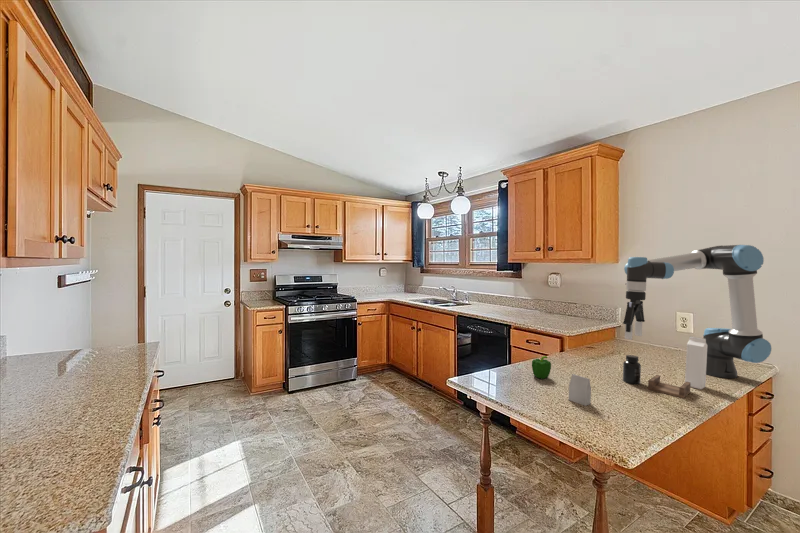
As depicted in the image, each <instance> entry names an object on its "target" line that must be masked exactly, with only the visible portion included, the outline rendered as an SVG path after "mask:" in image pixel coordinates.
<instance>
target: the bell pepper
mask: <svg viewBox="0 0 800 533" xmlns="http://www.w3.org/2000/svg"><path fill="white" fill-rule="evenodd" d="M531 368H532V369H531V370H532V374H533V376H535V377H536V378H537V379H547V378H549V376H550V373H551V369H552V362H551V361H549V360H548V356H547V355H543V356H541V358H536V359H532V361H531Z"/></svg>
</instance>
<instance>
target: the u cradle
mask: <svg viewBox="0 0 800 533" xmlns="http://www.w3.org/2000/svg"><path fill="white" fill-rule="evenodd" d="M690 385H691V383H690V382H685V381H684V383H683V384H682V385H681V386H677V385H672V384H669V383H666V382H665V383H664V382H661V375H658V374H656V375H654V376H653V377H651V378H649V379H648V382H647V390H649V391H653V392H657V393H661V394H665V395H668V396H673V397H676V398H681V399H684V398H685V397H687V396H688V394H690V393H691V387H690Z"/></svg>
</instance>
